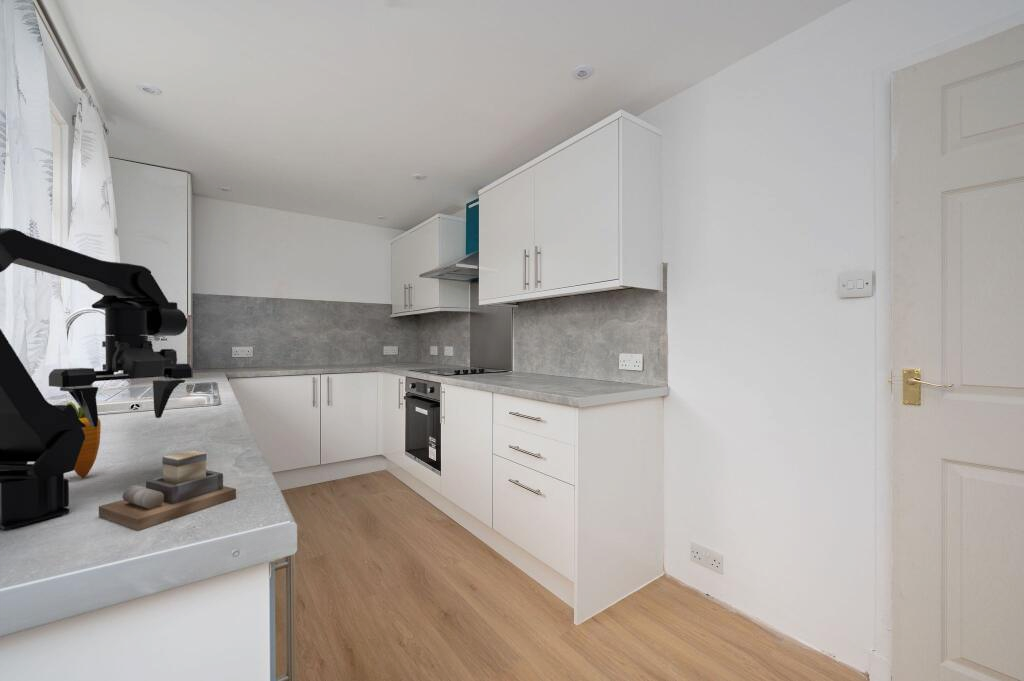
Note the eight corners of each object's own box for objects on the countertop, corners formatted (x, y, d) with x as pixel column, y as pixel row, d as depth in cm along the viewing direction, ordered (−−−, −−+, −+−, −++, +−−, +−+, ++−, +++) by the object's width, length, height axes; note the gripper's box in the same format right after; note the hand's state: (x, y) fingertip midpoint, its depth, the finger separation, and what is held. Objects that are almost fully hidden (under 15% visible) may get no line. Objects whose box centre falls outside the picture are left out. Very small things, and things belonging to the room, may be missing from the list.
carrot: (66, 483, 77) (65, 400, 77) (62, 478, 80) (61, 398, 80) (104, 476, 81) (103, 397, 81) (98, 471, 84) (97, 395, 84)
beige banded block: (177, 499, 65) (177, 459, 65) (162, 495, 67) (162, 456, 67) (206, 490, 69) (206, 453, 69) (192, 486, 70) (191, 450, 70)
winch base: (138, 530, 58) (137, 500, 58) (98, 516, 62) (98, 489, 62) (236, 498, 69) (235, 473, 69) (196, 488, 74) (196, 465, 74)
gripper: (77, 334, 65) (79, 437, 65) (209, 335, 82) (210, 416, 82) (46, 335, 70) (47, 430, 70) (176, 336, 87) (177, 412, 87)
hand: (128, 422), depth 77 cm, fingers open, 9 cm apart
